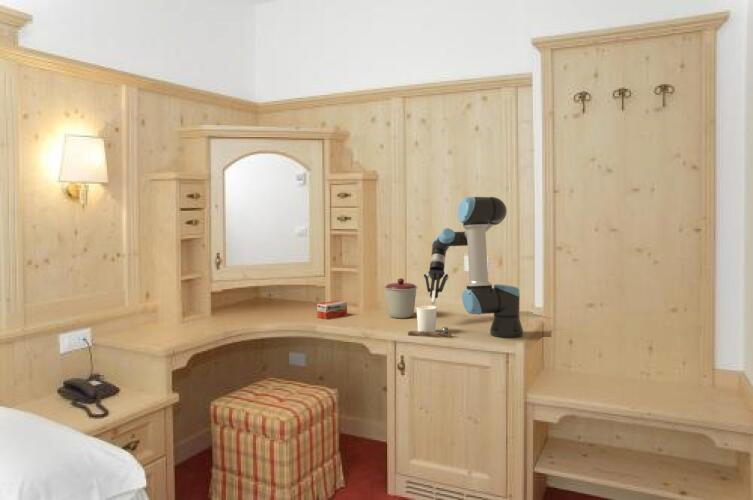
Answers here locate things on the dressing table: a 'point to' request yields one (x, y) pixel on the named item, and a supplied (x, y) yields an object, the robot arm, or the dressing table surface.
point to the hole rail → (428, 334)
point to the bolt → (445, 330)
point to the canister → (400, 299)
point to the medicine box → (331, 309)
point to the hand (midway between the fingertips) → (433, 302)
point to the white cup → (426, 318)
